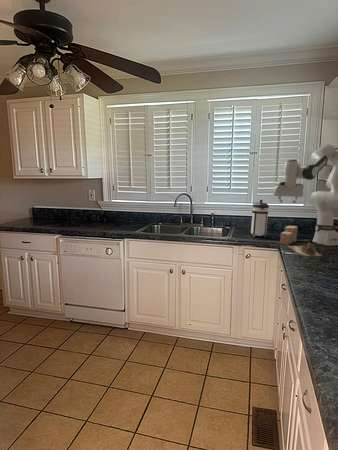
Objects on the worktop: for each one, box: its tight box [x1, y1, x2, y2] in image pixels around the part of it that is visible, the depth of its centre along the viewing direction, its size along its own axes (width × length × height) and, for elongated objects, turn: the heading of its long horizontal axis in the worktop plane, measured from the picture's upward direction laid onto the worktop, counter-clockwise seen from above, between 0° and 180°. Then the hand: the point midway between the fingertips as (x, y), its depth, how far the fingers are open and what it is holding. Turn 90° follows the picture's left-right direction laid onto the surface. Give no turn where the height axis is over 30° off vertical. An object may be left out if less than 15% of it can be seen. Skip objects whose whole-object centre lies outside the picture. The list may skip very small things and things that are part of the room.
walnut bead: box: [301, 245, 317, 254], centre depth 201 cm, size 6×6×4 cm
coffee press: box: [249, 199, 270, 239], centre depth 252 cm, size 17×16×30 cm
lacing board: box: [287, 242, 324, 259], centre depth 206 cm, size 14×24×8 cm, turn 1°
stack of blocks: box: [279, 224, 299, 246], centre depth 231 cm, size 21×6×12 cm, turn 143°
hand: (287, 202), depth 220 cm, fingers open, 8 cm apart
